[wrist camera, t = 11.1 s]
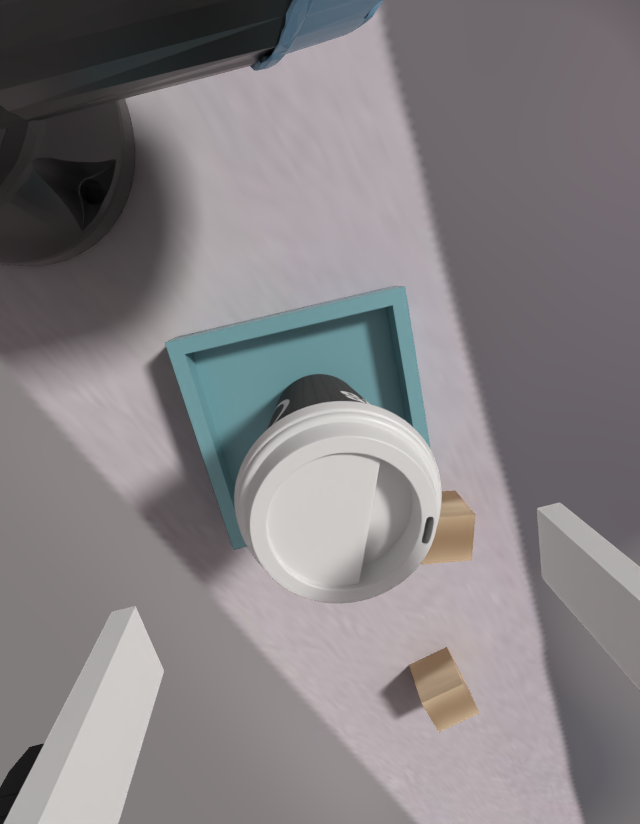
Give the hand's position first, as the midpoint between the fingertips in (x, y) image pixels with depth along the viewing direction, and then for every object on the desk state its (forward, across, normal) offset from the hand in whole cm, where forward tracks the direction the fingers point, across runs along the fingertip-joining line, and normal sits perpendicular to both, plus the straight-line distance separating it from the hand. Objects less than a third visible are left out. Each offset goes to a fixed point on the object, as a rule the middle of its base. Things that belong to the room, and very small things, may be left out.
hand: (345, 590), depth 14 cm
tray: (+20, 0, 0) cm, 20 cm away
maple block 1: (+20, +8, -12) cm, 25 cm away
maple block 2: (+20, +6, -28) cm, 35 cm away
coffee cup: (+19, +1, 0) cm, 19 cm away
